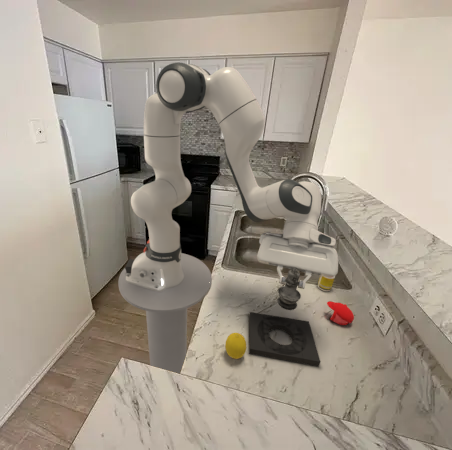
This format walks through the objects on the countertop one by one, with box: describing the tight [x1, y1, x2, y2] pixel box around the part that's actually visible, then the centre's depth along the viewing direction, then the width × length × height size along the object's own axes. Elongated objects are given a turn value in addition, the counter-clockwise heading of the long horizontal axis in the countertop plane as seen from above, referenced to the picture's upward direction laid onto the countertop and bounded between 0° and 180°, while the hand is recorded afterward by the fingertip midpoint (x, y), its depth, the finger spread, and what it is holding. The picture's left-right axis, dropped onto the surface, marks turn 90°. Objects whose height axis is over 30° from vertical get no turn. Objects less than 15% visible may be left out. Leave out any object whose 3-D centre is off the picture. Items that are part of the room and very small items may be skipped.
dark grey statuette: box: [276, 268, 302, 311], centre depth 68 cm, size 6×6×12 cm
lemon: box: [224, 332, 247, 360], centre depth 68 cm, size 6×6×8 cm
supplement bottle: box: [316, 275, 336, 292], centre depth 94 cm, size 5×5×8 cm
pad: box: [248, 311, 321, 367], centre depth 75 cm, size 18×14×2 cm
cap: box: [326, 300, 355, 326], centre depth 81 cm, size 8×6×6 cm
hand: (291, 285), depth 67 cm, fingers closed on dark grey statuette, 3 cm apart
